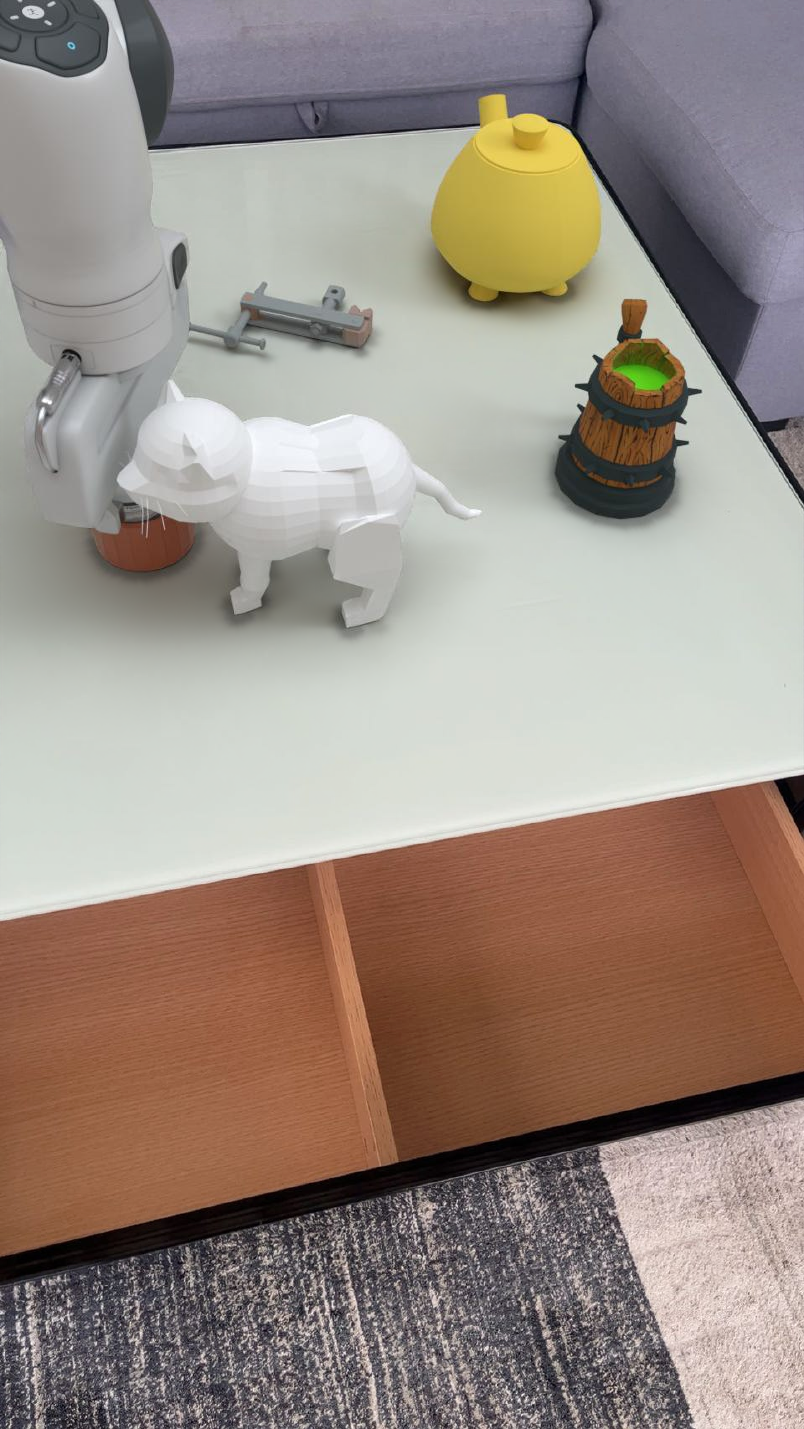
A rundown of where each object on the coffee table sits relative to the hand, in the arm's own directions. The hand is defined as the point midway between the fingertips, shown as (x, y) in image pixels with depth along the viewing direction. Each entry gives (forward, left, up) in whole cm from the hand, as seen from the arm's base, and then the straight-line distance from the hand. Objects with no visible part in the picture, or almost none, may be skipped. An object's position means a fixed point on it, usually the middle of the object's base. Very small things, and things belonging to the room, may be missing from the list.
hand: (133, 478), depth 75 cm
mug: (+34, +16, -6) cm, 38 cm away
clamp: (+4, +27, -6) cm, 28 cm away
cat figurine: (+13, -2, -6) cm, 14 cm away
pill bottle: (0, 0, -5) cm, 5 cm away
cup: (0, 0, -6) cm, 6 cm away
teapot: (+22, +43, -6) cm, 48 cm away
